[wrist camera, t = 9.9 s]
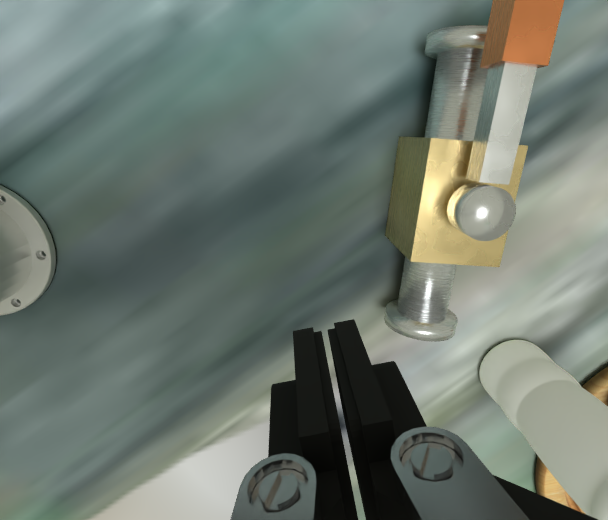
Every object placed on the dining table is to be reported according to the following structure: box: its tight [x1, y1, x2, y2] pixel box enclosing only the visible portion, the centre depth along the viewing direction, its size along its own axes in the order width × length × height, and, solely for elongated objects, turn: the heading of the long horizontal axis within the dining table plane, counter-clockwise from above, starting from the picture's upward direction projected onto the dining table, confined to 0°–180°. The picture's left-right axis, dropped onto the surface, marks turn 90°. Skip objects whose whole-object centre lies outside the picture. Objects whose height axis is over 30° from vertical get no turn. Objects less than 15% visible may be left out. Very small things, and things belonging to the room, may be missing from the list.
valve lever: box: [447, 0, 564, 241], centre depth 25 cm, size 16×4×3 cm, turn 175°
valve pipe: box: [384, 25, 528, 341], centre depth 33 cm, size 7×24×9 cm, turn 175°
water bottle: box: [479, 340, 608, 520], centre depth 31 cm, size 7×7×25 cm
